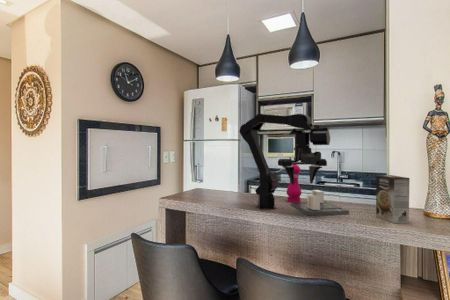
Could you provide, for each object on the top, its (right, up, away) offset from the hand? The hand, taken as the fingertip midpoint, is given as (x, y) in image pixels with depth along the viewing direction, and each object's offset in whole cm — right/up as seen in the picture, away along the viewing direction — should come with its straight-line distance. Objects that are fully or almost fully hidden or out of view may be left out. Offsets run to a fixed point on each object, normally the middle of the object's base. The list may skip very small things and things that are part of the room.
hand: (302, 183), depth 102 cm
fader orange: (+5, -10, 0) cm, 11 cm away
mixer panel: (+9, -12, +6) cm, 16 cm away
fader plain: (+11, -10, +13) cm, 20 cm away
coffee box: (+30, -12, -10) cm, 34 cm away
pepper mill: (+3, -12, +23) cm, 27 cm away
